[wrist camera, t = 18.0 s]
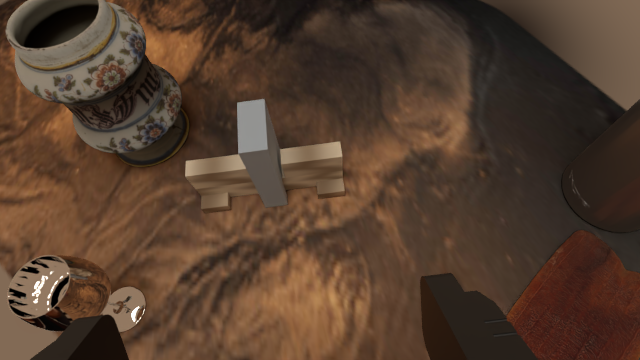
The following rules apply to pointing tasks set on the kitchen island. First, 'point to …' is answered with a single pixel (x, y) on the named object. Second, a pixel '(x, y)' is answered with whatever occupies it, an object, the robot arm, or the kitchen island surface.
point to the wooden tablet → (581, 305)
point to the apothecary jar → (100, 76)
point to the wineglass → (70, 294)
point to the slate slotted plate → (260, 151)
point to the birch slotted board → (297, 172)
